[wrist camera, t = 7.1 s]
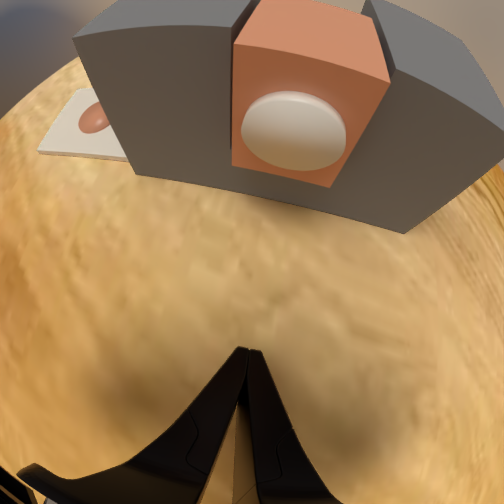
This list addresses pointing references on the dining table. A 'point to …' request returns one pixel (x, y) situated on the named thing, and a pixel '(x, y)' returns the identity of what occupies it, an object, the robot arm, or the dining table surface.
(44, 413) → the dining table surface
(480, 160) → the button housing
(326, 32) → the push button
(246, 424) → the robot arm
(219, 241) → the dining table surface
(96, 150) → the card
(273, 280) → the dining table surface
